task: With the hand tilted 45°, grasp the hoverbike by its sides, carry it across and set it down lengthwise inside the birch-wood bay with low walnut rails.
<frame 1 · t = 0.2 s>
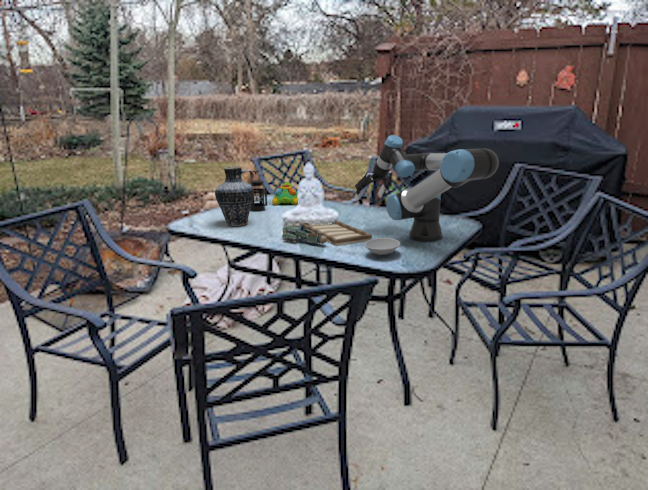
hand: (368, 197, 247), 16 cm above the table, tool tilted 35°, fingers open, 13 cm apart
hoverbike: (304, 243, 227), on the table
dish: (382, 255, 209), on the table
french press: (258, 210, 292), on the table
jug: (237, 224, 260), on the table
turtle toy: (286, 203, 313), on the table
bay: (334, 233, 241), on the table
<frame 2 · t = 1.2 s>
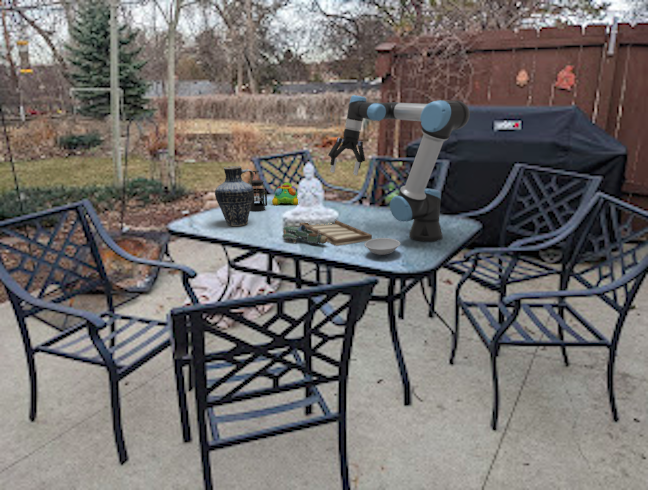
hand: (343, 173, 241), 28 cm above the table, tool pointing down, fingers open, 13 cm apart
nothing on the table moved.
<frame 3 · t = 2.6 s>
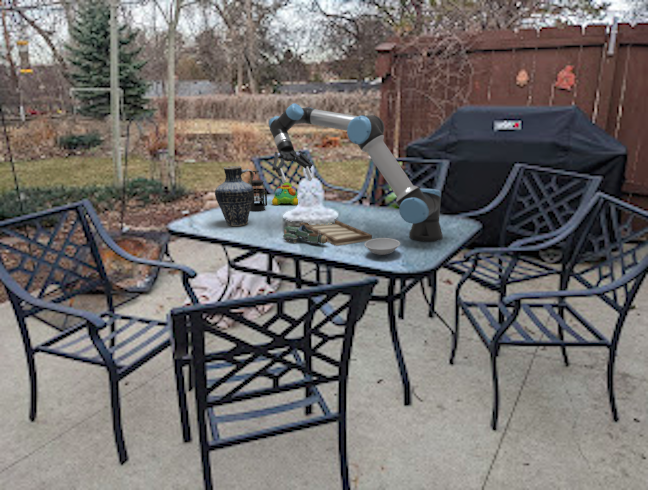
hand: (297, 180, 232), 26 cm above the table, tool tilted 45°, fingers open, 13 cm apart
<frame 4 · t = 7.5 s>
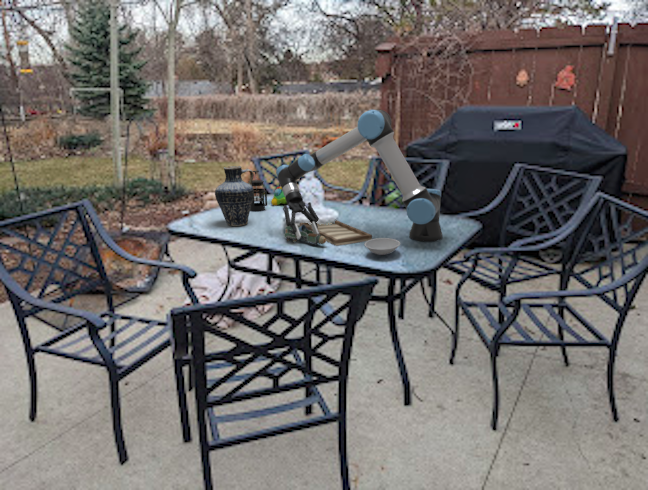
hand: (308, 236, 222), 4 cm above the table, tool tilted 45°, fingers closed on hoverbike, 8 cm apart
hoverbike: (305, 243, 226), on the table, touching gripper
turtle toy: (285, 203, 311), on the table
everything else where it was.
when the fingers open (8 cm above the table, at t = 14.3 s): hoverbike drops 3 cm, resting on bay.
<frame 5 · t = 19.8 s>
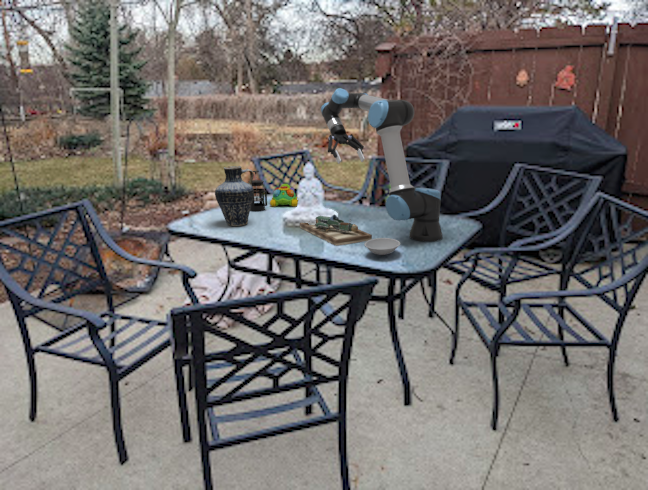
hand: (351, 161, 248), 33 cm above the table, tool tilted 45°, fingers open, 13 cm apart
hoverbike: (336, 231, 241), point 1 cm above the table, touching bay
turtle toy: (284, 204, 308), on the table
everything else where it was.
at the end: hoverbike 1.1 cm off-centre on the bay, point 0.8 cm above the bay's base; hoverbike tilted 0°; the gripper is holding nothing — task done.
